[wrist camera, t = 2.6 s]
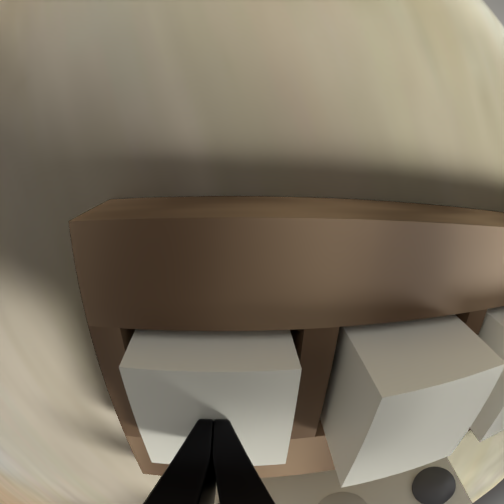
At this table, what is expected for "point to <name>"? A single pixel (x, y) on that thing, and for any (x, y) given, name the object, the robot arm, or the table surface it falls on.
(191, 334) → the button left
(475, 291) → the board
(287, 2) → the table surface
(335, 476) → the card
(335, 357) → the button mid
